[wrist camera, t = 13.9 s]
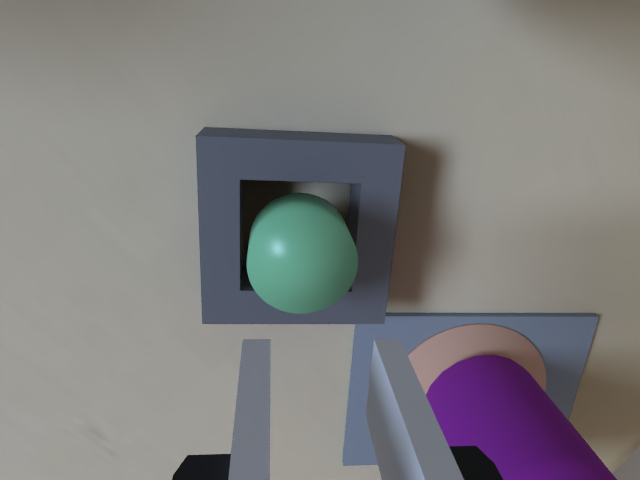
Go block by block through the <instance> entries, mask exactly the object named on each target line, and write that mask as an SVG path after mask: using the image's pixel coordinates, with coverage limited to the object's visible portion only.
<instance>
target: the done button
mask: <svg viewBox="0 0 640 480" xmlns="http://www.w3.org/2000/svg"><path fill="white" fill-rule="evenodd" d="M357 268H358V254H357V250H356V246H355V244H354V241H353V239H352V237H351V234H350V232H349V230H348V228H347V225H346V223H345V221H344V219H343V217H342V215H341V214H340V212H339V211H338V210H337V209H336V208H335V207H334V206H333V205H332V204H331V203H329V202H328V201H327V200H325V199H323V198H321V197H318V196H316V195H312V194H306V193H293V194H288V195H284V196H281V197H279V198H277V199H275V200H273V201H271V202H270V203H268V204H267V205H266V206H265V207H264V208H263V209H262V210H261V211H260V212H259V214H258V215H257V216H256V218H255V220H254V222H253V225H252V227H251V231H250V238H249V246H248V254H247V273H248V277H249V280H250V283H251V285H252V287H253V289H254V290H255V292H256V293H257V294H258V295H259V296H260V297H261V298H262V300H264V301H265V302H266V303H267V304H269V305H271V306H272V307H274V308H276V309H279V310H281V311H284V312H288V313H294V314H307V313H313V312H317V311H321V310H323V309H326V308H328V307H330V306H331V305H333V304H335V303H336V302H337V301H339V300H340V299H341V298H342V297H343V296H344V295H345V294H346V293H347V291H348V290H349V289H350V287H351V285H352V284H353V281H354V279H355V276H356V273H357Z"/></svg>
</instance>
